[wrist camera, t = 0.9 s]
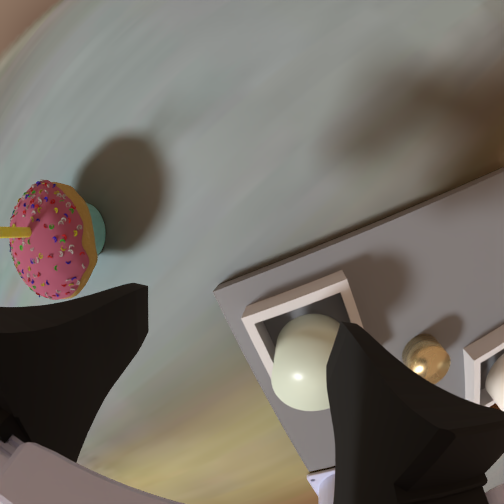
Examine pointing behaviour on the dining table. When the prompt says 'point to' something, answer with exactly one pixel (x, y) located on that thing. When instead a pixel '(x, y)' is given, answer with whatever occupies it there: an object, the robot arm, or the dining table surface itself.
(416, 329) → the panel
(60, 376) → the robot arm
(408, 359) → the gold knob
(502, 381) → the ivory knob
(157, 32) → the dining table surface
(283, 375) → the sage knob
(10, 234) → the cupcake
